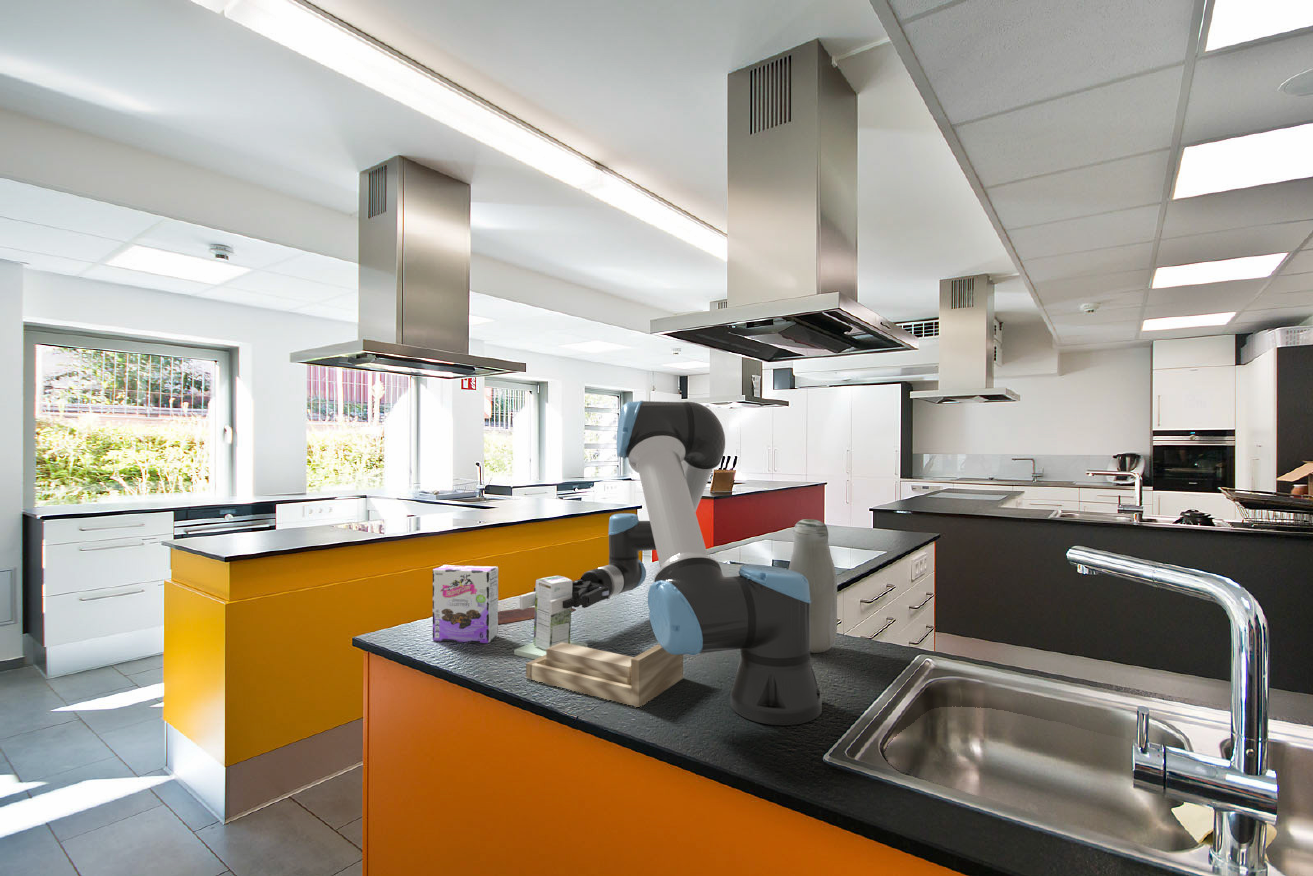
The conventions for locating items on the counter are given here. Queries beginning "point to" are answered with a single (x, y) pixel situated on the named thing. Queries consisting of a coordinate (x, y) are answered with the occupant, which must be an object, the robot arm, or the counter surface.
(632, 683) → the birch rack
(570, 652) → the offcut stack
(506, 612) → the wooden tablet
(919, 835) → the counter surface
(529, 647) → the sage mat
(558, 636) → the syrup box
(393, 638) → the counter surface
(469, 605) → the candy box
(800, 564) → the glass bottle
